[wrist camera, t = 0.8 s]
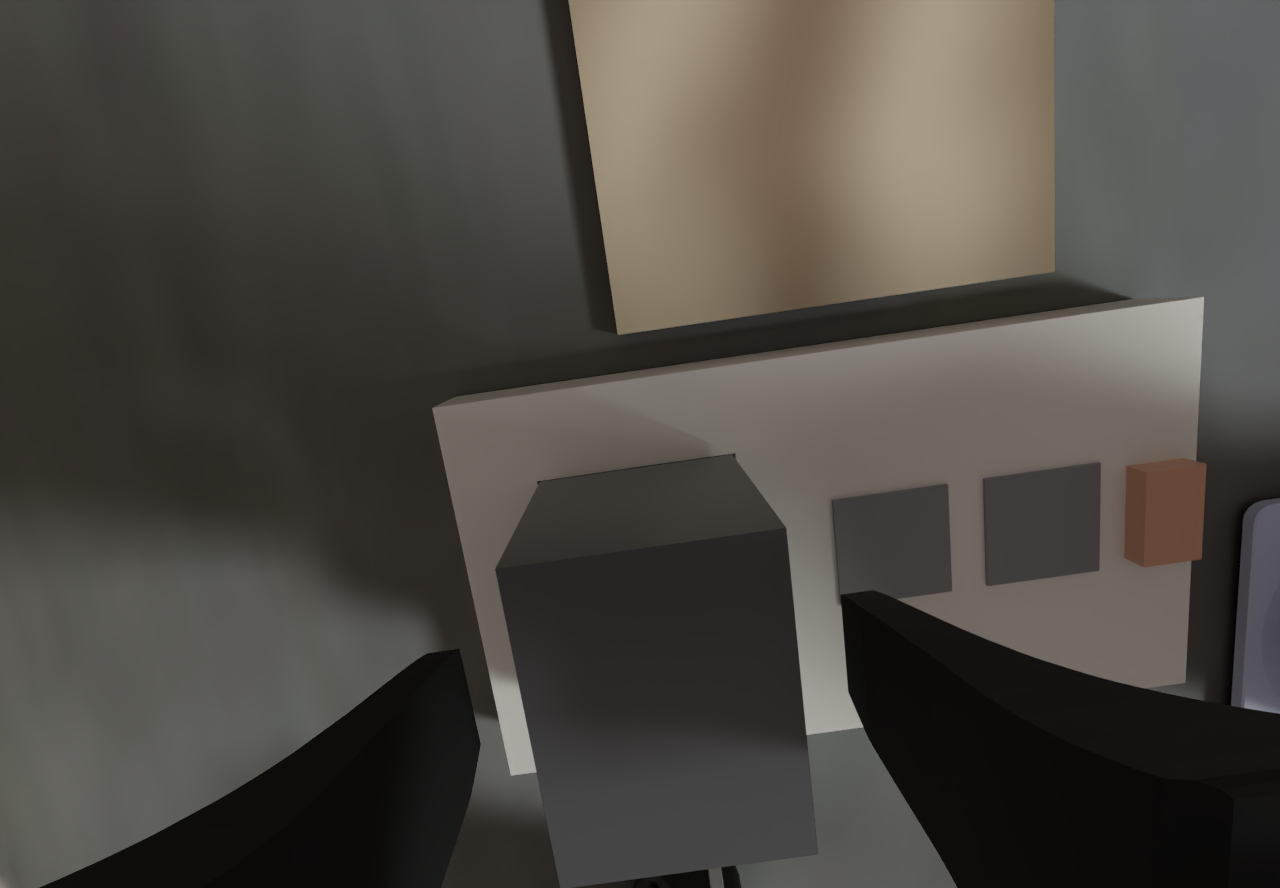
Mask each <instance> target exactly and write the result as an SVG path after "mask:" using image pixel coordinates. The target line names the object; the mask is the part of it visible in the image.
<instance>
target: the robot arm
mask: <svg viewBox="0 0 1280 888" xmlns="http://www.w3.org/2000/svg"><path fill="white" fill-rule="evenodd" d="M841 607H842V619H843V632H844V644H845V657H846V670H847V682H848V693H849V695H850V697H851V700H852V702H853V704H854V707H855V709H856V711H857V714H858V716H859V718H860V720H861V723H862V725H863V727H864V729H865V731H866V733H867V736H868V738H869V740H870V742H871V743H872V745H873V747H874V749H875V750H876V752H877V754H878V755H879V757H880V759H881V760H882V762H883V764H884V765H885V767H886V769H887V770H888V772H889V774H890V775H891V777H892V779H893V780H894V782H895V783H896V785H897V787H898V788H899V790H900V792H901V793H902V795H903V796H904V798H905V800H906V801H907V803H908V805H909V806H910V808H911V809H912V811H913V813H914V814H915V816H916V818H917V819H918V821H919V823H920V824H921V826H922V827H923V829H924V831H925V832H926V834H927V836H928V837H929V839H930V840H931V842H932V844H933V845H934V847H935V849H936V850H937V852H938V853H939V855H940V857H941V859H942V861H943V862H944V864H945V866H946V868H947V869H948V871H949V873H950V875H951V877H952V878H953V880H954V882H955V884H956V886H957V888H1280V498H1276V499H1269V500H1262V501H1259V502H1256V503H1254V504H1253V505H1252V506H1250V507H1249V508H1248V509H1247V511H1246V512H1245V514H1244V518H1243V529H1242V544H1241V559H1240V575H1239V590H1238V605H1237V620H1236V635H1235V651H1234V666H1233V681H1232V696H1231V706H1229V705H1223V704H1217V703H1212V702H1206V701H1201V700H1196V699H1191V698H1186V697H1181V696H1175V695H1171V694H1166V693H1162V692H1157V691H1153V690H1149V689H1145V688H1140V687H1136V686H1132V685H1128V684H1123V683H1119V682H1115V681H1111V680H1108V679H1104V678H1100V677H1096V676H1093V675H1089V674H1086V673H1082V672H1079V671H1076V670H1073V669H1070V668H1066V667H1063V666H1060V665H1057V664H1053V663H1050V662H1047V661H1044V660H1041V659H1038V658H1035V657H1032V656H1029V655H1026V654H1024V653H1021V652H1018V651H1016V650H1013V649H1010V648H1008V647H1005V646H1003V645H1000V644H998V643H995V642H992V641H990V640H987V639H985V638H982V637H980V636H978V635H975V634H973V633H970V632H968V631H966V630H963V629H961V628H959V627H957V626H954V625H952V624H950V623H948V622H945V621H943V620H941V619H939V618H937V617H934V616H932V615H930V614H928V613H926V612H923V611H921V610H919V609H917V608H915V607H913V606H910V605H908V604H906V603H904V602H902V601H899V600H897V599H895V598H893V597H890V596H888V595H886V594H883V593H881V592H878V591H875V590H870V591H863V592H856V593H849V594H842V595H841ZM480 745H481V744H480V739H479V735H478V730H477V726H476V722H475V717H474V713H473V708H472V704H471V699H470V695H469V690H468V686H467V681H466V677H465V672H464V668H463V664H462V659H461V655H460V650H459V649H455V650H448V651H441V652H434V653H427V654H426V655H424V656H422V657H421V658H419V659H418V660H416V661H415V662H413V663H412V664H411V665H409V666H408V667H406V668H405V669H404V670H402V671H401V672H400V673H399V674H397V675H396V676H395V677H393V678H392V679H391V680H390V681H388V682H387V683H386V684H384V685H383V686H382V687H381V688H379V689H378V690H377V691H376V692H374V693H373V694H372V695H370V696H369V697H368V698H367V699H365V700H364V701H363V702H361V703H360V704H359V705H358V706H356V707H355V708H354V709H353V710H351V711H350V712H349V713H347V714H346V715H345V716H343V717H342V718H341V719H339V720H338V721H337V722H335V723H334V724H332V725H331V726H330V727H328V728H327V729H326V730H324V731H323V732H321V733H320V734H319V735H317V736H316V737H315V738H313V739H312V740H310V741H309V742H308V743H306V744H305V745H304V746H302V747H301V748H299V749H298V750H297V751H295V752H294V753H292V754H291V755H289V756H288V757H286V758H285V759H283V760H282V761H280V762H279V763H277V764H276V765H274V766H273V767H271V768H270V769H268V770H267V771H265V772H263V773H262V774H260V775H259V776H257V777H255V778H254V779H252V780H251V781H249V782H247V783H246V784H244V785H242V786H241V787H239V788H238V789H236V790H234V791H233V792H231V793H229V794H228V795H226V796H224V797H222V798H221V799H219V800H217V801H215V802H213V803H212V804H210V805H208V806H206V807H204V808H202V809H200V810H199V811H197V812H195V813H193V814H191V815H189V816H188V817H186V818H184V819H182V820H180V821H178V822H176V823H175V824H173V825H171V826H169V827H167V828H165V829H164V830H162V831H160V832H158V833H156V834H154V835H152V836H150V837H148V838H146V839H144V840H142V841H140V842H138V843H136V844H134V845H132V846H130V847H128V848H126V849H124V850H122V851H120V852H118V853H115V854H113V855H111V856H109V857H107V858H105V859H103V860H101V861H98V862H96V863H94V864H92V865H90V866H87V867H85V868H83V869H81V870H79V871H76V872H74V873H72V874H70V875H68V876H65V877H63V878H61V879H59V880H56V881H54V882H52V883H49V884H47V885H45V886H42V887H40V888H441V885H442V882H443V879H444V876H445V873H446V870H447V867H448V864H449V861H450V858H451V855H452V852H453V849H454V846H455V843H456V840H457V837H458V834H459V831H460V828H461V825H462V822H463V819H464V816H465V813H466V810H467V807H468V803H469V800H470V797H471V792H472V787H473V783H474V778H475V773H476V767H477V762H478V756H479V750H480Z"/></svg>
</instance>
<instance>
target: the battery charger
mask: <svg viewBox="0 0 1280 888" xmlns="http://www.w3.org/2000/svg"><path fill="white" fill-rule="evenodd" d="M633 888H741V883H740V878H739V873H738V871H737V869H736V866H728V867H720V868H713V869H706V870H698V871H691V872H684V873H676V874H669V875H662V876H654V877H647V878H640V879H636V881H635V884H634V887H633Z"/></svg>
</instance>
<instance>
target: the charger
mask: <svg viewBox="0 0 1280 888" xmlns="http://www.w3.org/2000/svg"><path fill="white" fill-rule="evenodd" d="M495 572H496V576H497V581H498V586H499V591H500V596H501V601H502V606H503V611H504V616H505V620H506V625H507V630H508V635H509V640H510V645H511V650H512V655H513V660H514V664H515V669H516V674H517V679H518V684H519V689H520V694H521V699H522V704H523V708H524V713H525V718H526V723H527V728H528V733H529V738H530V743H531V748H532V752H533V757H534V762H535V767H536V772H537V777H538V782H539V787H540V792H541V796H542V801H543V806H544V811H545V816H546V821H547V826H548V831H549V836H550V840H551V845H552V850H553V855H554V860H555V865H556V870H557V875H558V880H559V885H560V888H574V887H581V886H589V885H596V884H603V883H611V882H618V881H625V880H633V879H640V878H647V877H654V876H662V875H669V874H676V873H684V872H691V871H698V870H706V869H713V868H720V867H728V866H735V865H742V864H750V863H757V862H764V861H772V860H779V859H786V858H794V857H801V856H808V855H816V854H818V849H817V838H816V828H815V818H814V808H813V797H812V787H811V777H810V766H809V756H808V746H807V735H806V725H805V715H804V705H803V694H802V684H801V674H800V663H799V653H798V643H797V632H796V622H795V612H794V602H793V591H792V581H791V571H790V560H789V550H788V540H787V529H786V527H785V525H784V524H783V523H782V521H781V520H780V519H779V517H778V516H777V515H776V513H775V512H774V510H773V509H772V508H771V506H770V505H769V504H768V502H767V501H766V500H765V498H764V497H763V496H762V494H761V493H760V492H759V490H758V489H757V487H756V486H755V485H754V483H753V482H752V481H751V479H750V478H749V477H748V475H747V474H746V473H745V471H744V470H743V469H742V467H741V466H740V464H739V463H738V462H737V460H736V459H735V458H734V456H733V455H732V454H731V455H724V456H717V457H710V458H703V459H696V460H689V461H682V462H675V463H668V464H661V465H654V466H647V467H640V468H633V469H626V470H619V471H612V472H605V473H598V474H591V475H584V476H577V477H570V478H563V479H556V480H549V481H542V482H539V484H538V486H537V488H536V490H535V492H534V494H533V496H532V498H531V500H530V502H529V504H528V506H527V508H526V510H525V512H524V514H523V516H522V517H521V519H520V521H519V523H518V525H517V527H516V529H515V531H514V533H513V535H512V537H511V539H510V541H509V543H508V545H507V547H506V549H505V551H504V552H503V554H502V556H501V558H500V560H499V562H498V564H497V566H496V568H495Z"/></svg>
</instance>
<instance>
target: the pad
mask: <svg viewBox="0 0 1280 888" xmlns="http://www.w3.org/2000/svg"><path fill="white" fill-rule="evenodd" d="M568 1H569V7H570V14H571V21H572V28H573V35H574V41H575V48H576V55H577V62H578V69H579V75H580V82H581V89H582V96H583V103H584V109H585V116H586V123H587V130H588V136H589V143H590V150H591V157H592V164H593V170H594V177H595V184H596V191H597V198H598V204H599V211H600V218H601V225H602V232H603V238H604V245H605V252H606V259H607V265H608V272H609V279H610V286H611V293H612V299H613V306H614V313H615V320H616V327H617V333H618V335H622V334H629V333H636V332H643V331H650V330H657V329H664V328H670V327H677V326H684V325H691V324H698V323H705V322H712V321H719V320H726V319H733V318H740V317H746V316H753V315H760V314H767V313H774V312H781V311H788V310H795V309H802V308H809V307H816V306H822V305H829V304H836V303H843V302H850V301H857V300H864V299H871V298H878V297H885V296H891V295H898V294H905V293H912V292H919V291H926V290H933V289H940V288H947V287H954V286H961V285H967V284H974V283H981V282H988V281H995V280H1002V279H1009V278H1016V277H1023V276H1030V275H1037V274H1043V273H1050V272H1055V182H1054V0H568Z"/></svg>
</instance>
